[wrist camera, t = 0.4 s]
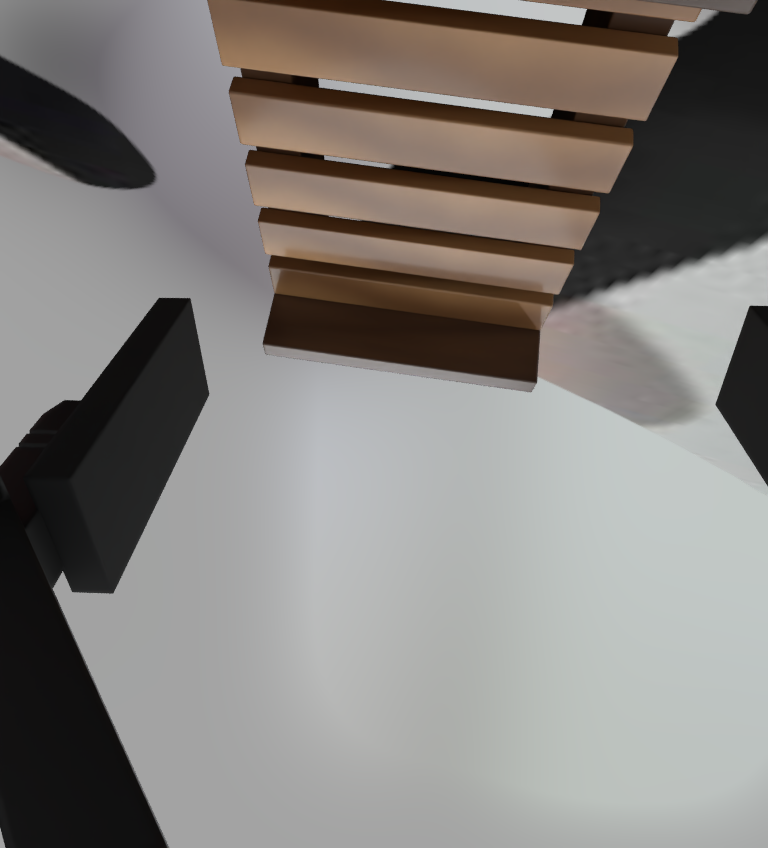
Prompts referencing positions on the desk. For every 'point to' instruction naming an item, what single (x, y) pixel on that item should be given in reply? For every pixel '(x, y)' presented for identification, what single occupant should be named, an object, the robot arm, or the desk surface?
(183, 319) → the robot arm
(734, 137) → the desk surface
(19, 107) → the desk surface
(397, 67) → the rack
